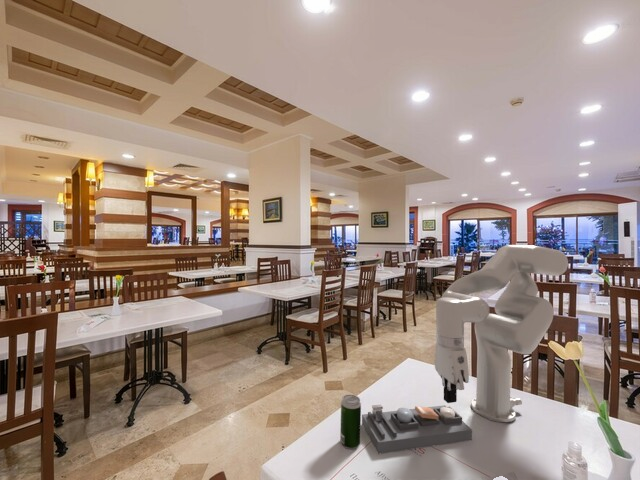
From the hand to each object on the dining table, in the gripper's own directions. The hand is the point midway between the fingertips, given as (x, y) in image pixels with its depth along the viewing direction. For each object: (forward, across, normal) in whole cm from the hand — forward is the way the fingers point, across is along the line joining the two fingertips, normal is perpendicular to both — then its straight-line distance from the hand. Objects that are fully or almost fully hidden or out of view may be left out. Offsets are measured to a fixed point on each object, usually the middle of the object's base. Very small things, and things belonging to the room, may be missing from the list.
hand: (450, 400), depth 87 cm
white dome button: (+5, 0, +1) cm, 5 cm away
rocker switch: (+3, 0, +8) cm, 8 cm away
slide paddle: (+4, +3, +22) cm, 23 cm away
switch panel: (+7, 0, +12) cm, 14 cm away
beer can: (+7, -1, +32) cm, 33 cm away
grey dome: (+3, 0, +15) cm, 15 cm away
